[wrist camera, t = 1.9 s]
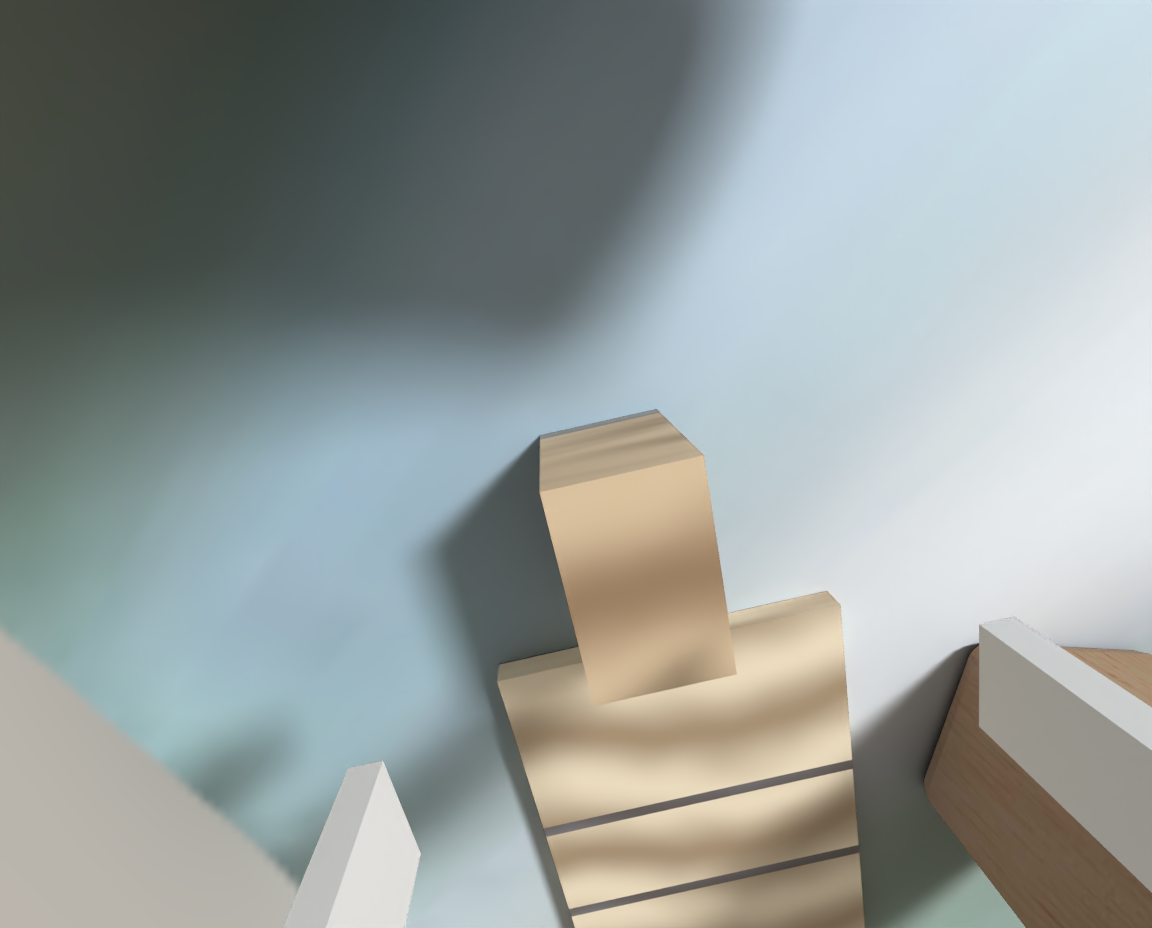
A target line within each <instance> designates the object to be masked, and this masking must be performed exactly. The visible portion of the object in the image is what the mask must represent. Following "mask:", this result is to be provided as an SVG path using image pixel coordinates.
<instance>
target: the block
mask: <svg viewBox="0 0 1152 928" xmlns="http://www.w3.org/2000/svg"><path fill="white" fill-rule="evenodd" d="M1060 647H1061V646H1060ZM1061 648H1063V649H1064V650H1066V651H1067V652H1069V653H1070V654H1072V655H1073V656H1075V657H1076V658H1078V659H1079V660H1081V661H1082V662H1084V663H1085V664H1087V665H1088V666H1090V667H1091V668H1093V669H1094V670H1096V671H1097V672H1099V673H1100V674H1102V675H1103V676H1105V677H1106V678H1108V679H1109V680H1111V681H1113V682H1114V683H1116V684H1117V685H1119V686H1120V687H1122V688H1123V689H1125V690H1126V691H1128V692H1129V693H1131V694H1132V695H1134V696H1135V697H1137V698H1138V699H1140V700H1141V701H1143V702H1144V703H1146V704H1147V705H1149V706H1150V707H1152V655H1150V654H1147V653H1142V652H1138V651H1133V650H1117V649H1098V648H1080V647H1061ZM924 787H925V792H926V795H927V797H928V800H929V802H930V803H931V805H932V806H933V807H934V808H935V810H936V811H937V812H938V814H939V815H940V816H941V818H942V819H943V820H944V821H945V823H946V824H947V825H948V827H949V828H950V829H951V831H952V832H953V833H954V835H955V836H956V837H957V838H958V840H959V841H960V842H961V844H962V845H963V846H964V848H965V849H966V850H967V851H968V853H969V854H970V855H971V857H972V858H973V859H974V861H975V862H976V863H977V864H978V866H979V867H980V868H981V870H982V871H983V872H984V874H985V875H986V876H987V877H988V879H989V880H990V881H991V883H992V884H993V885H994V887H995V888H996V889H997V891H998V892H999V893H1000V894H1001V896H1002V897H1003V898H1004V900H1005V901H1006V902H1007V904H1008V905H1009V906H1010V907H1011V909H1012V910H1013V911H1014V913H1015V914H1016V915H1017V917H1018V918H1019V919H1020V920H1021V922H1022V923H1023V924H1024V926H1025V927H1026V928H1152V892H1151V891H1150V890H1148V889H1147V888H1146V887H1145V886H1144V885H1143V884H1142V883H1141V882H1140V881H1139V880H1138V879H1137V878H1136V877H1135V876H1134V875H1133V874H1132V873H1131V872H1130V871H1129V870H1128V869H1127V868H1126V867H1125V866H1124V865H1123V864H1121V863H1120V862H1119V861H1118V860H1117V859H1116V858H1115V857H1114V856H1113V855H1112V854H1111V853H1110V852H1109V851H1108V850H1107V849H1106V848H1105V847H1104V846H1103V845H1102V844H1101V843H1100V842H1099V841H1098V840H1097V839H1096V838H1094V837H1093V836H1092V835H1091V834H1090V833H1089V832H1088V831H1087V830H1086V829H1085V828H1084V827H1083V826H1082V825H1081V824H1080V823H1079V822H1078V821H1077V820H1076V819H1075V818H1074V817H1073V816H1072V815H1071V814H1070V813H1068V812H1067V811H1066V810H1065V809H1064V808H1063V807H1062V806H1061V805H1060V804H1059V803H1058V802H1057V801H1056V800H1055V799H1054V798H1053V797H1052V796H1051V795H1050V794H1049V793H1048V792H1047V791H1046V790H1045V789H1044V788H1043V787H1041V786H1040V785H1039V784H1038V783H1037V782H1036V781H1035V780H1034V779H1033V778H1032V777H1031V776H1030V775H1029V774H1028V773H1027V772H1026V771H1025V770H1024V769H1023V768H1022V767H1021V766H1020V765H1019V764H1018V763H1017V762H1016V761H1014V760H1013V759H1012V758H1011V757H1010V756H1009V755H1008V754H1007V753H1006V752H1005V751H1004V750H1003V749H1002V748H1001V747H1000V746H999V745H998V744H997V743H996V742H995V741H994V740H993V739H992V738H991V737H990V736H989V735H987V734H986V733H985V732H984V731H983V730H982V729H981V728H980V727H979V646H977V647H976V648H975V649H974V650H973V651H972V652H971V653H970V655H969V658H968V660H967V663H966V666H965V669H964V671H963V674H962V677H961V679H960V682H959V685H958V688H957V690H956V693H955V696H954V699H953V701H952V704H951V707H950V710H949V712H948V715H947V718H946V721H945V723H944V726H943V729H942V732H941V734H940V737H939V740H938V742H937V745H936V748H935V751H934V753H933V756H932V759H931V762H930V764H929V767H928V770H927V773H926V775H925V778H924Z"/></svg>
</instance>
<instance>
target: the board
mask: <svg viewBox="0 0 1152 928" xmlns="http://www.w3.org/2000/svg"><path fill="white" fill-rule="evenodd" d="M728 619H729V625H730V632H731V639H732V645H733V652H734V658H735V665H736V672H737V674H736V675H732V676H727V677H723V678H719V679H714V680H710V681H705V682H701V683H696V684H692V685H687V686H683V687H678V688H674V689H669V690H665V691H660V692H656V693H651V694H647V695H643V696H638V697H634V698H629V699H625V700H620V701H616V702H611V703H607V704H602V705H598V706H594V705H593V701H592V697H591V693H590V689H589V685H588V681H587V677H586V673H585V669H584V665H583V661H582V657H581V653H580V650H579V647H575V648H571V649H566V650H562V651H558V652H553V653H549V654H544V655H540V656H535V657H531V658H526V659H522V660H517V661H513V662H508V663H504V664H500V665H499V669H498V678H497V683H498V686H499V689H500V692H501V696H502V699H503V702H504V705H505V708H506V711H507V715H508V718H509V721H510V724H511V727H512V730H513V734H514V737H515V740H516V743H517V746H518V749H519V752H520V756H521V759H522V762H523V765H524V768H525V771H526V775H527V778H528V781H529V784H530V787H531V790H532V794H533V797H534V800H535V803H536V806H537V809H538V813H539V816H540V819H541V822H542V825H543V828H544V832H545V835H546V838H547V841H548V844H549V847H550V851H551V854H552V857H553V860H554V863H555V866H556V870H557V873H558V876H559V879H560V882H561V885H562V888H563V892H564V895H565V898H566V901H567V904H568V907H569V911H570V914H571V917H572V920H573V923H574V926H575V928H865V921H864V908H863V895H862V882H861V869H860V855H859V842H858V829H857V816H856V803H855V790H854V777H853V764H852V750H851V737H850V724H849V711H848V698H847V685H846V672H845V659H844V645H843V632H842V619H841V606H840V604H839V603H838V602H837V601H836V600H835V599H834V598H833V597H832V596H831V594H830V593H829V592H828V591H825V592H820V593H816V594H812V595H807V596H803V597H798V598H794V599H789V600H785V601H780V602H776V603H771V604H767V605H763V606H758V607H754V608H749V609H745V610H740V611H736V612H731V613H728Z"/></svg>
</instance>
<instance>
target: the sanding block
mask: <svg viewBox="0 0 1152 928" xmlns="http://www.w3.org/2000/svg"><path fill="white" fill-rule="evenodd" d="M540 496H541V500H542V504H543V508H544V512H545V516H546V520H547V524H548V528H549V532H550V535H551V539H552V543H553V547H554V551H555V555H556V559H557V563H558V567H559V571H560V575H561V579H562V583H563V587H564V591H565V594H566V598H567V602H568V606H569V610H570V614H571V618H572V622H573V626H574V630H575V634H576V638H577V642H578V646H579V650H580V653H581V657H582V661H583V665H584V669H585V673H586V677H587V681H588V685H589V689H590V693H591V697H592V701H593V705H594V706H598V705H602V704H607V703H611V702H616V701H620V700H625V699H629V698H634V697H638V696H643V695H647V694H651V693H656V692H660V691H665V690H669V689H674V688H678V687H683V686H687V685H692V684H696V683H701V682H705V681H710V680H714V679H719V678H723V677H727V676H732V675H736V674H737V672H736V665H735V658H734V652H733V645H732V639H731V632H730V625H729V619H728V612H727V605H726V599H725V592H724V586H723V579H722V572H721V566H720V559H719V553H718V546H717V539H716V533H715V526H714V519H713V513H712V506H711V500H710V493H709V486H708V480H707V473H706V467H705V460H704V455H703V454H702V453H701V452H700V451H699V450H698V449H697V448H696V447H695V446H694V445H693V444H692V443H691V442H690V441H689V440H688V439H687V438H686V437H685V436H684V435H683V434H682V433H681V432H680V431H679V430H678V429H676V428H675V427H674V426H673V425H672V424H671V423H670V422H669V421H668V420H667V419H666V418H665V417H664V416H663V415H662V414H661V413H660V412H659V411H658V410H657V409H654V410H650V411H645V412H641V413H636V414H632V415H628V416H623V417H619V418H614V419H610V420H605V421H601V422H597V423H592V424H588V425H583V426H579V427H575V428H570V429H566V430H561V431H557V432H553V433H548V434H544V435H540Z"/></svg>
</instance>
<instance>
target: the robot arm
mask: <svg viewBox="0 0 1152 928" xmlns="http://www.w3.org/2000/svg"><path fill="white" fill-rule="evenodd" d="M979 727H980V728H981V729H982V730H983V731H984V732H985V733H986V734H987V735H989V736H990V737H991V738H992V739H993V740H994V741H995V742H996V743H997V744H998V745H999V746H1000V747H1001V748H1002V749H1003V750H1004V751H1005V752H1006V753H1007V754H1008V755H1009V756H1010V757H1011V758H1012V759H1013V760H1014V761H1016V762H1017V763H1018V764H1019V765H1020V766H1021V767H1022V768H1023V769H1024V770H1025V771H1026V772H1027V773H1028V774H1029V775H1030V776H1031V777H1032V778H1033V779H1034V780H1035V781H1036V782H1037V783H1038V784H1039V785H1040V786H1041V787H1043V788H1044V789H1045V790H1046V791H1047V792H1048V793H1049V794H1050V795H1051V796H1052V797H1053V798H1054V799H1055V800H1056V801H1057V802H1058V803H1059V804H1060V805H1061V806H1062V807H1063V808H1064V809H1065V810H1066V811H1067V812H1068V813H1070V814H1071V815H1072V816H1073V817H1074V818H1075V819H1076V820H1077V821H1078V822H1079V823H1080V824H1081V825H1082V826H1083V827H1084V828H1085V829H1086V830H1087V831H1088V832H1089V833H1090V834H1091V835H1092V836H1093V837H1094V838H1096V839H1097V840H1098V841H1099V842H1100V843H1101V844H1102V845H1103V846H1104V847H1105V848H1106V849H1107V850H1108V851H1109V852H1110V853H1111V854H1112V855H1113V856H1114V857H1115V858H1116V859H1117V860H1118V861H1119V862H1120V863H1121V864H1123V865H1124V866H1125V867H1126V868H1127V869H1128V870H1129V871H1130V872H1131V873H1132V874H1133V875H1134V876H1135V877H1136V878H1137V879H1138V880H1139V881H1140V882H1141V883H1142V884H1143V885H1144V886H1145V887H1146V888H1147V889H1148V890H1150V891H1151V892H1152V707H1150V706H1149V705H1147V704H1146V703H1144V702H1143V701H1141V700H1140V699H1138V698H1137V697H1135V696H1134V695H1132V694H1131V693H1129V692H1128V691H1126V690H1125V689H1123V688H1122V687H1120V686H1119V685H1117V684H1116V683H1114V682H1113V681H1111V680H1109V679H1108V678H1106V677H1105V676H1103V675H1102V674H1100V673H1099V672H1097V671H1096V670H1094V669H1093V668H1091V667H1090V666H1088V665H1087V664H1085V663H1084V662H1082V661H1081V660H1079V659H1078V658H1076V657H1075V656H1073V655H1072V654H1070V653H1069V652H1067V651H1066V650H1064V649H1063V648H1061V647H1060V646H1058V645H1056V644H1055V643H1053V642H1052V641H1050V640H1049V639H1047V638H1046V637H1044V636H1043V635H1041V634H1040V633H1038V632H1037V631H1035V630H1034V629H1032V628H1031V627H1029V626H1028V625H1026V624H1025V623H1023V622H1022V621H1020V620H1019V619H1017V618H1016V617H1010V618H1006V619H1001V620H997V621H993V622H988V623H984V624H980V625H979ZM420 855H421V853H420V850H419V848H418V846H417V843H416V841H415V838H414V836H413V833H412V831H411V828H410V826H409V823H408V821H407V819H406V816H405V814H404V811H403V809H402V806H401V804H400V801H399V799H398V797H397V794H396V792H395V789H394V787H393V784H392V782H391V779H390V777H389V774H388V772H387V770H386V767H385V765H384V762H383V761H379V762H375V763H370V764H366V765H362V766H357V767H353V768H348V770H347V772H346V775H345V777H344V780H343V782H342V784H341V787H340V789H339V792H338V794H337V797H336V799H335V802H334V804H333V806H332V809H331V811H330V814H329V816H328V819H327V821H326V823H325V826H324V828H323V831H322V833H321V836H320V838H319V841H318V843H317V845H316V848H315V850H314V853H313V855H312V858H311V860H310V862H309V865H308V867H307V870H306V872H305V875H304V877H303V880H302V882H301V884H300V887H299V889H298V892H297V894H296V897H295V899H294V901H293V904H292V906H291V909H290V911H289V914H288V916H287V919H286V921H285V923H284V926H283V928H405V925H406V921H407V916H408V911H409V907H410V902H411V897H412V893H413V888H414V883H415V879H416V874H417V869H418V865H419V860H420Z"/></svg>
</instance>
